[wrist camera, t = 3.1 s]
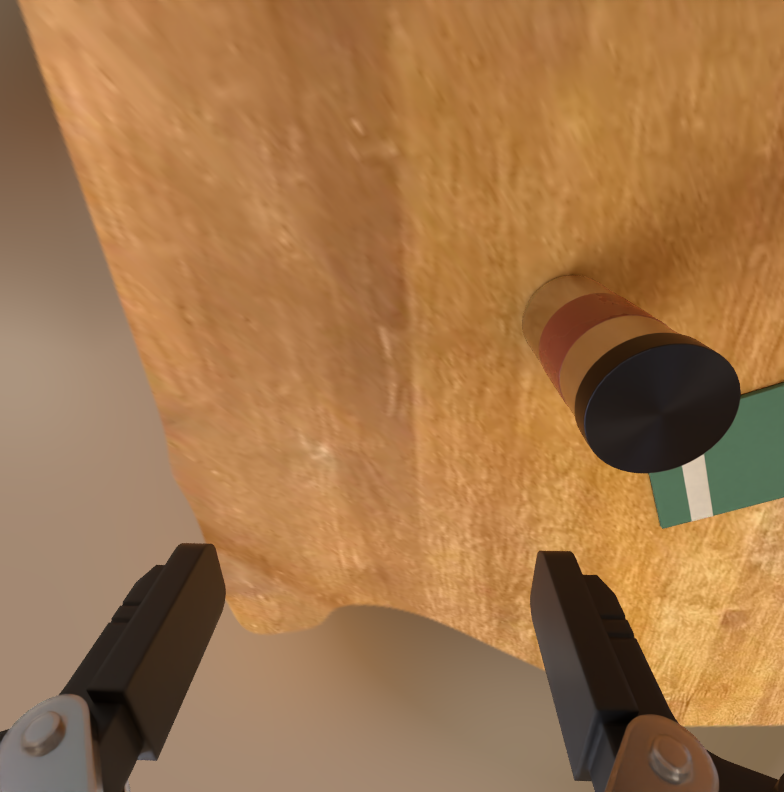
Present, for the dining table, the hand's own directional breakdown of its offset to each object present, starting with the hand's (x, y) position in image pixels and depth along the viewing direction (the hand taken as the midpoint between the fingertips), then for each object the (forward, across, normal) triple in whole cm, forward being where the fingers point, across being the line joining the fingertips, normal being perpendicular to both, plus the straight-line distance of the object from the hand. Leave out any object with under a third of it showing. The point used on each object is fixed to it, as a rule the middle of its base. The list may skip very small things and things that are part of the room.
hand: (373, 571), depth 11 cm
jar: (+21, -11, 0) cm, 23 cm away
